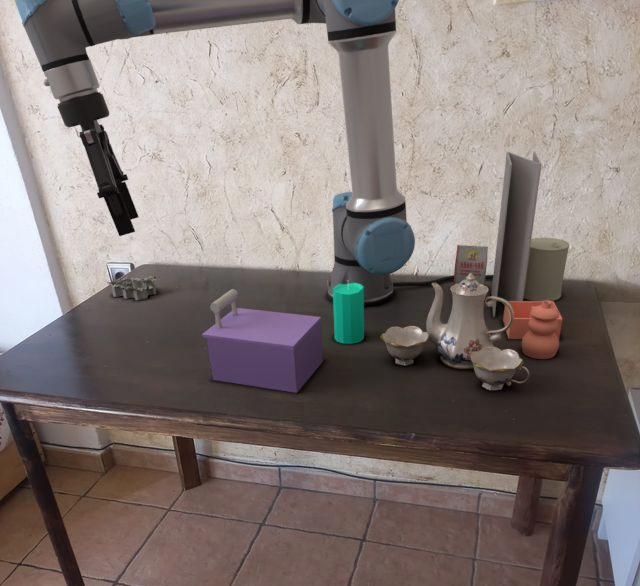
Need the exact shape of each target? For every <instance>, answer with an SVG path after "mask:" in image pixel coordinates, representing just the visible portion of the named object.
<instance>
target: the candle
mask: <svg viewBox="0 0 640 586" xmlns="http://www.w3.org/2000/svg"><path fill="white" fill-rule="evenodd" d="M332 304H333V308H332V309H333V331H334V333H333V334H334V335H333V336H334V340H335V341H336V342H337V343H340V344H344V345H345V344H347V345H352V344H357V343H361V342H362V341H363V340H364V339H365V306H364V286H362V285H361V284H359V283H350V284H349V283H348V284H338V285H337V286H336V287H334V288H333V301H332Z"/></svg>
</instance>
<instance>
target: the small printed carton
mask: <svg viewBox="0 0 640 586" xmlns="http://www.w3.org/2000/svg"><path fill="white" fill-rule="evenodd" d="M488 253H489V246H485V245H481V246H480V245H465V244H464V245H463V244H457V246H456V254H455V263H454V273H453V275H454V279H453V285H452V286H454V285H455V284H460V283H461V282H462V281H463V280H466V277H467V276H468V275H469V274H470V273H472V274H473V276H474V277H475V279H474V280H476V281H478V282H479V284H482V285H484V286H486V279H485V276H486V275H487V267H488Z"/></svg>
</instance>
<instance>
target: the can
mask: <svg viewBox="0 0 640 586" xmlns="http://www.w3.org/2000/svg"><path fill="white" fill-rule="evenodd" d="M569 248H570V243H569V241H567V240H564V239H561V238H556V237H534V238H531V245H530V253H529V260H528V267H527V274H526V282H525V289H524V296H523V300H526V301H554V302H555V301H557V300H559V299H560V298H561V297H562V290H563V289H562V288H563V282H564V278H565V277H564V276H565V270H566V264H567V260H568V254H569Z"/></svg>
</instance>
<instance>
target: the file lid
mask: <svg viewBox="0 0 640 586" xmlns="http://www.w3.org/2000/svg"><path fill="white" fill-rule="evenodd" d="M238 297H239V292H238V291H237V290H236V289H234V288H232V289H230V290H229V291H227V292H225V293H224V294H223V295H221V296H220V297H218V299H216V300H215V301H213V302H212V303H211V304H210V310H211V311H212V312H213V314H214V319H215V320H214V321H215V324H213V325H212V326H210V327H209V328H208V329H207V330H205V331H204V332H203V333H202V334H201V336H202V338H204V339H205V338H206V339H207V338H212V339H220V340H228V341H235V342H243V343H251V344H258V345H266V346H274V347H281V348H289V349H294V348H295V347H296V346H297V345H298V344H299V343H300V342H301V341H302V340H303V339H304V338H305V337H306V335H307V334H308V333H309V332H310V331H311V330H312V329H313V328H314V327H315V326H316V325H317V324H318V323H319V322H320V321H321V322H322V317H321V316H316V315H306V314H297V313H289V312H288V313H287V312H278V311H271V310H270V311H269V310H261V309H253V308H251V309H250V308H243V307H237V299H238ZM228 305H230V306H231V311H230V312H228V313H227V314H225V315H224V316H223V317H222V318H221V311H222V310H223V309H224V308H227V306H228Z"/></svg>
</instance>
